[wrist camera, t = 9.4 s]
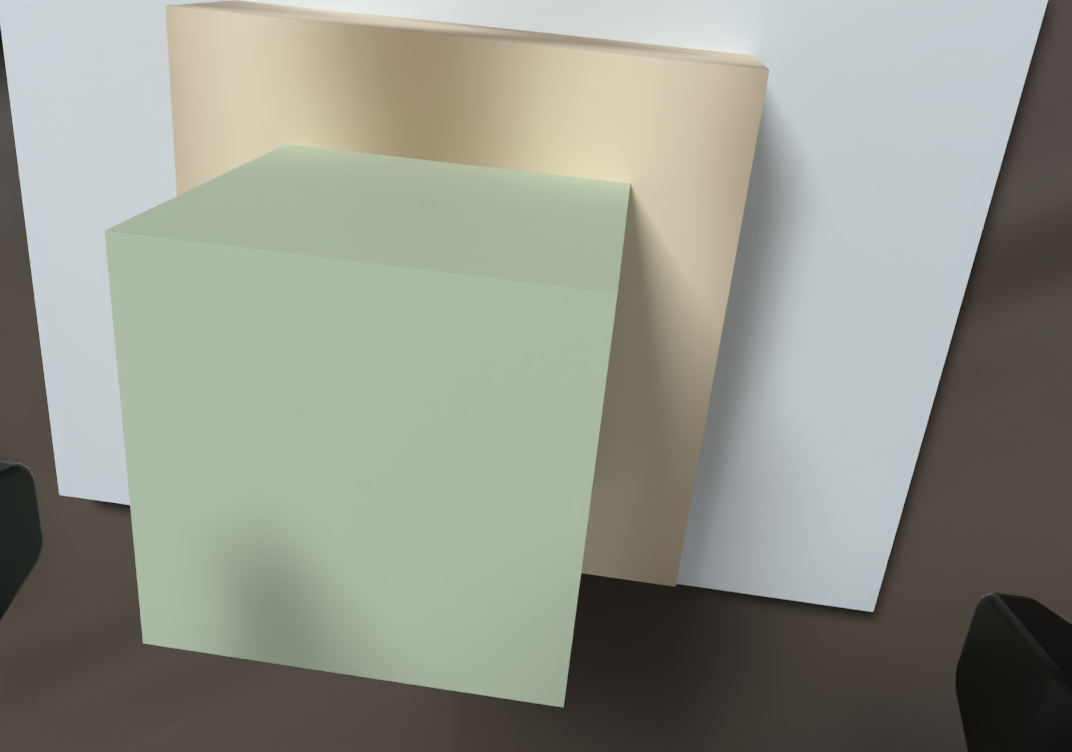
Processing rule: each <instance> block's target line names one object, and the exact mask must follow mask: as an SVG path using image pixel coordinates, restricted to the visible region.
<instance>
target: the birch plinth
mask: <svg viewBox="0 0 1072 752" xmlns="http://www.w3.org/2000/svg"><path fill="white" fill-rule="evenodd" d="M166 21H167V38H168V55H169V71H170V88H171V105H172V122H173V138H174V155H175V172H176V189H177V196H178V195H181V194H183V193H185V192H187V191H189V190H191V189H193V188H195V187H197V186H199V185H202V184H204V183H206V182H208V181H210V180H212V179H214V178H216V177H218V176H220V175H223V174H225V173H227V172H229V171H231V170H233V169H235V168H237V167H239V166H241V165H244V164H246V163H248V162H250V161H252V160H254V159H256V158H258V157H260V156H262V155H265V154H267V153H269V152H271V151H273V150H275V149H277V148H279V147H281V146H283V145H286V144H290V145H298V146H307V147H316V148H325V149H333V150H342V151H351V152H360V153H369V154H377V155H386V156H395V157H404V158H413V159H421V160H430V161H439V162H448V163H456V164H465V165H474V166H483V167H492V168H500V169H509V170H518V171H527V172H536V173H544V174H553V175H562V176H571V177H579V178H588V179H597V180H606V181H615V182H623V183H630V191H629V200H628V208H627V217H626V226H625V234H624V243H623V251H622V260H621V268H620V277H619V286H618V294H617V302H616V309H615V317H614V325H613V332H612V340H611V348H610V355H609V363H608V371H607V378H606V386H605V394H604V401H603V409H602V417H601V424H600V432H599V440H598V447H597V455H596V463H595V470H594V478H593V486H592V493H591V501H590V509H589V516H588V524H587V532H586V539H585V547H584V555H583V562H582V570H581V573H584V574H591V575H598V576H605V577H612V578H619V579H625V580H632V581H639V582H646V583H653V584H660V585H667V586H674V587H676V582H677V576H678V571H679V565H680V560H681V554H682V549H683V543H684V538H685V532H686V527H687V521H688V516H689V510H690V505H691V499H692V494H693V488H694V483H695V477H696V472H697V466H698V461H699V455H700V450H701V444H702V439H703V433H704V428H705V422H706V417H707V411H708V406H709V400H710V395H711V389H712V384H713V378H714V373H715V367H716V362H717V356H718V351H719V345H720V340H721V334H722V329H723V323H724V318H725V312H726V307H727V301H728V296H729V290H730V285H731V279H732V274H733V268H734V263H735V257H736V252H737V246H738V241H739V235H740V230H741V224H742V219H743V213H744V208H745V202H746V196H747V191H748V185H749V180H750V174H751V169H752V163H753V158H754V152H755V147H756V141H757V136H758V130H759V125H760V119H761V114H762V108H763V103H764V97H765V92H766V86H767V81H768V75H769V69H768V68H767V67H766V66H764V65H763V64H762V63H761V62H760V61H759V60H758V59H757V58H755V57H754V56H753V55H752V54H743V53H733V52H724V51H714V50H705V49H695V48H686V47H676V46H667V45H657V44H648V43H638V42H629V41H619V40H610V39H600V38H591V37H582V36H572V35H563V34H553V33H544V32H534V31H525V30H515V29H506V28H496V27H487V26H477V25H468V24H458V23H449V22H439V21H430V20H420V19H411V18H402V17H392V16H383V15H373V14H364V13H354V12H345V11H335V10H326V9H316V8H307V7H297V6H288V5H278V4H269V3H259V2H250V1H240V0H233V1H220V2H207V3H194V4H181V5H168V6H166Z"/></svg>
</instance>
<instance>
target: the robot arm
mask: <svg viewBox="0 0 1072 752" xmlns="http://www.w3.org/2000/svg"><path fill="white" fill-rule="evenodd" d="M42 546H43V531H42V525H41V518H40V511H39V505H38V498H37V491H36V484H35V479H34V475H33V474H32V472H31V470H30V469H29V468H28V467H27V466H25V465H24V464H21V463H15V462H7V461H0V620H1V618H2V617H3V615H4V614H5V612H6V611H7V609H8V607H9V606H10V604H11V603H12V601H13V600H14V598H15V596H16V595H17V593H18V592H19V590H20V589H21V587H22V585H23V584H24V582H25V581H26V579H27V578H28V576H29V574H30V573H31V571H32V570H33V568H34V567H35V565H36V563H37V561H38V559H39V556H40V554H41V550H42ZM956 693H957V698H958V704H959V709H960V714H961V719H962V724H963V729H964V734H965V739H966V744H967V749H968V752H1072V624H1070V623H1069V622H1067V621H1066V620H1064V619H1063V618H1061V617H1060V616H1058V615H1057V614H1055V613H1054V612H1053V611H1051V610H1050V609H1048V608H1047V607H1045V606H1044V605H1042V604H1041V603H1039V602H1038V601H1036V600H1034V599H1032V598H1028V597H1022V596H1015V595H1007V594H999V593H987V594H985V595H984V596H982V597H981V599H980V600H979V602H978V603H977V605H976V608H975V610H974V614H973V617H972V620H971V623H970V626H969V629H968V633H967V636H966V639H965V642H964V645H963V648H962V652H961V655H960V658H959V661H958V665H957V670H956Z"/></svg>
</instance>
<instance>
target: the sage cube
mask: <svg viewBox="0 0 1072 752" xmlns="http://www.w3.org/2000/svg"><path fill="white" fill-rule="evenodd" d="M629 191H630V183H623V182H615V181H606V180H597V179H588V178H579V177H571V176H562V175H553V174H544V173H536V172H527V171H518V170H509V169H500V168H492V167H483V166H474V165H465V164H456V163H448V162H439V161H430V160H421V159H413V158H404V157H395V156H386V155H377V154H369V153H360V152H351V151H342V150H333V149H325V148H316V147H307V146H298V145H290V144H286V145H283V146H281V147H279V148H277V149H275V150H273V151H271V152H269V153H267V154H265V155H262V156H260V157H258V158H256V159H254V160H252V161H250V162H248V163H246V164H244V165H241V166H239V167H237V168H235V169H233V170H231V171H229V172H227V173H225V174H223V175H220V176H218V177H216V178H214V179H212V180H210V181H208V182H206V183H204V184H202V185H199V186H197V187H195V188H193V189H191V190H189V191H187V192H185V193H183V194H181V195H178V196H176V197H174V198H172V199H170V200H168V201H166V202H164V203H162V204H159V205H157V206H155V207H153V208H151V209H149V210H147V211H145V212H143V213H141V214H138V215H136V216H134V217H132V218H130V219H128V220H126V221H124V222H122V223H120V224H117V225H115V226H113V227H111V228H109V229H107V230H105V241H106V252H107V263H108V273H109V284H110V295H111V305H112V316H113V327H114V338H115V348H116V359H117V370H118V380H119V391H120V402H121V412H122V423H123V434H124V444H125V455H126V466H127V477H128V487H129V498H130V509H131V519H132V530H133V541H134V551H135V562H136V573H137V583H138V594H139V605H140V616H141V626H142V637H143V643H144V644H151V645H158V646H164V647H171V648H177V649H184V650H190V651H197V652H203V653H210V654H216V655H223V656H230V657H236V658H243V659H249V660H256V661H262V662H269V663H275V664H282V665H289V666H295V667H302V668H308V669H315V670H321V671H328V672H334V673H341V674H347V675H354V676H361V677H367V678H374V679H380V680H387V681H393V682H400V683H406V684H413V685H419V686H426V687H433V688H439V689H446V690H452V691H459V692H465V693H472V694H478V695H485V696H492V697H498V698H505V699H511V700H518V701H524V702H531V703H537V704H544V705H550V706H557V707H564V700H565V693H566V685H567V677H568V670H569V662H570V654H571V647H572V639H573V631H574V624H575V616H576V608H577V601H578V593H579V585H580V578H581V570H582V562H583V555H584V547H585V539H586V532H587V524H588V516H589V509H590V501H591V493H592V486H593V478H594V470H595V463H596V455H597V447H598V440H599V432H600V424H601V417H602V409H603V401H604V394H605V386H606V378H607V371H608V363H609V355H610V348H611V340H612V332H613V325H614V317H615V309H616V302H617V294H618V286H619V277H620V268H621V260H622V251H623V243H624V234H625V226H626V217H627V208H628V200H629Z"/></svg>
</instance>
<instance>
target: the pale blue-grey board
mask: <svg viewBox="0 0 1072 752" xmlns="http://www.w3.org/2000/svg"><path fill="white" fill-rule="evenodd" d="M220 1H233V0H0V25H1V33H2V41H3V49H4V57H5V65H6V73H7V81H8V89H9V97H10V105H11V113H12V121H13V129H14V137H15V145H16V153H17V161H18V169H19V177H20V185H21V193H22V201H23V209H24V217H25V225H26V233H27V241H28V249H29V257H30V265H31V273H32V281H33V289H34V297H35V305H36V313H37V320H38V328H39V336H40V344H41V352H42V360H43V368H44V376H45V384H46V392H47V400H48V408H49V416H50V424H51V432H52V440H53V448H54V456H55V464H56V472H57V480H58V488H59V495H64V496H71V497H78V498H85V499H92V500H98V501H105V502H112V503H119V504H126V505H130V498H129V487H128V477H127V466H126V455H125V444H124V434H123V423H122V412H121V402H120V391H119V380H118V370H117V359H116V348H115V338H114V327H113V316H112V305H111V295H110V284H109V273H108V263H107V252H106V241H105V230H107V229H109V228H111V227H113V226H115V225H117V224H120V223H122V222H124V221H126V220H128V219H130V218H132V217H134V216H136V215H138V214H141V213H143V212H145V211H147V210H149V209H151V208H153V207H155V206H157V205H159V204H162V203H164V202H166V201H168V200H170V199H172V198H174V197H176V196H177V189H176V172H175V155H174V138H173V122H172V105H171V88H170V71H169V55H168V38H167V21H166V6H168V5H181V4H194V3H207V2H220ZM240 1H250V2H259V3H269V4H278V5H288V6H297V7H307V8H316V9H326V10H335V11H345V12H354V13H364V14H373V15H383V16H392V17H402V18H411V19H420V20H430V21H439V22H449V23H458V24H468V25H477V26H487V27H496V28H506V29H515V30H525V31H534V32H544V33H553V34H563V35H572V36H582V37H591V38H600V39H610V40H619V41H629V42H638V43H648V44H657V45H667V46H676V47H686V48H695V49H705V50H714V51H724V52H733V53H743V54H752V55H753V56H754V57H755V58H757V59H758V60H759V61H760V62H761V63H762V64H763V65H764V66H766V67H767V68H768V69H769V75H768V81H767V86H766V92H765V97H764V103H763V108H762V114H761V119H760V125H759V130H758V136H757V141H756V147H755V152H754V158H753V163H752V169H751V174H750V180H749V185H748V191H747V196H746V202H745V208H744V213H743V219H742V224H741V230H740V235H739V241H738V246H737V252H736V257H735V263H734V268H733V274H732V279H731V285H730V290H729V296H728V301H727V307H726V312H725V318H724V323H723V329H722V334H721V340H720V345H719V351H718V356H717V362H716V367H715V373H714V378H713V384H712V389H711V395H710V400H709V406H708V411H707V417H706V422H705V428H704V433H703V439H702V444H701V450H700V455H699V461H698V466H697V472H696V477H695V483H694V488H693V494H692V499H691V505H690V510H689V516H688V521H687V527H686V532H685V538H684V543H683V549H682V554H681V560H680V565H679V571H678V576H677V582H676V584H681V585H688V586H695V587H702V588H709V589H716V590H723V591H730V592H737V593H744V594H751V595H758V596H765V597H772V598H779V599H786V600H793V601H799V602H806V603H813V604H820V605H827V606H834V607H841V608H848V609H855V610H862V611H869V612H873V611H874V608H875V604H876V601H877V597H878V594H879V590H880V587H881V583H882V580H883V576H884V573H885V569H886V566H887V562H888V559H889V555H890V552H891V548H892V545H893V541H894V538H895V534H896V531H897V527H898V524H899V520H900V517H901V513H902V510H903V506H904V503H905V499H906V496H907V492H908V489H909V485H910V482H911V478H912V475H913V471H914V468H915V464H916V461H917V457H918V454H919V450H920V447H921V443H922V440H923V436H924V433H925V429H926V426H927V422H928V419H929V415H930V412H931V408H932V405H933V401H934V398H935V394H936V391H937V387H938V384H939V380H940V377H941V373H942V370H943V366H944V363H945V359H946V356H947V352H948V349H949V345H950V342H951V338H952V335H953V331H954V328H955V324H956V321H957V317H958V314H959V310H960V307H961V303H962V300H963V296H964V293H965V289H966V286H967V282H968V279H969V275H970V272H971V268H972V265H973V261H974V258H975V254H976V251H977V247H978V244H979V240H980V237H981V233H982V230H983V226H984V223H985V219H986V216H987V212H988V209H989V205H990V202H991V198H992V195H993V191H994V188H995V184H996V181H997V177H998V174H999V170H1000V167H1001V163H1002V160H1003V156H1004V153H1005V149H1006V146H1007V142H1008V139H1009V135H1010V132H1011V128H1012V125H1013V121H1014V118H1015V114H1016V111H1017V107H1018V104H1019V100H1020V97H1021V93H1022V90H1023V86H1024V83H1025V79H1026V76H1027V72H1028V69H1029V65H1030V62H1031V58H1032V55H1033V51H1034V48H1035V44H1036V41H1037V37H1038V34H1039V30H1040V27H1041V23H1042V20H1043V16H1044V13H1045V9H1046V6H1047V2H1048V0H240Z"/></svg>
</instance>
